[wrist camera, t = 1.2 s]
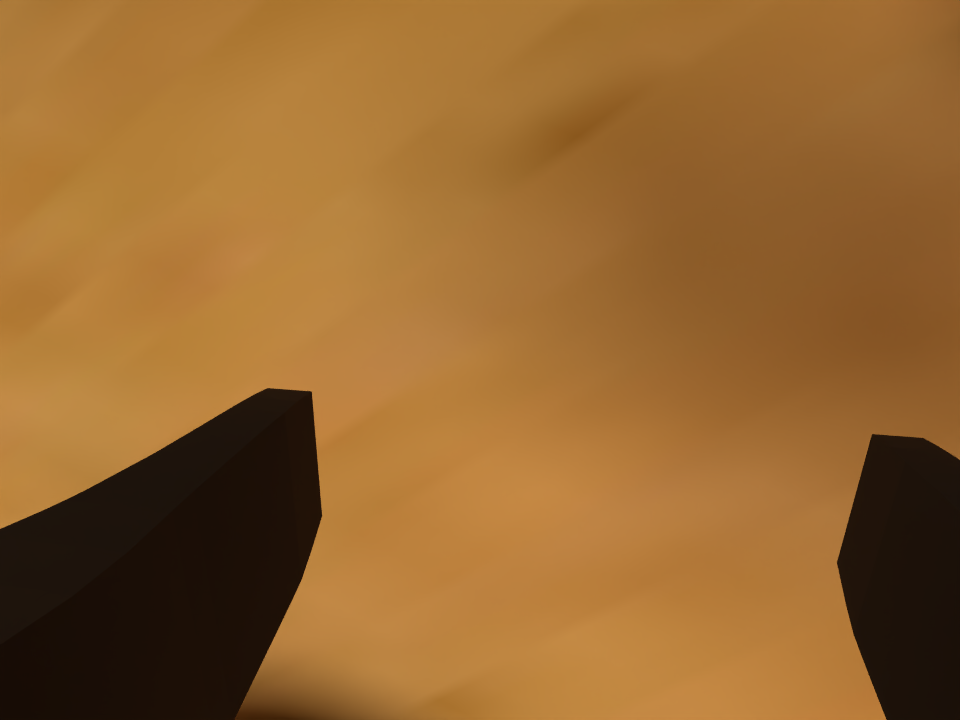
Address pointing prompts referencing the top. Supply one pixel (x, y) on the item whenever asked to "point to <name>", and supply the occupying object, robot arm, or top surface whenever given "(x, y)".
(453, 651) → the top surface
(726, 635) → the top surface
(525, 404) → the top surface
